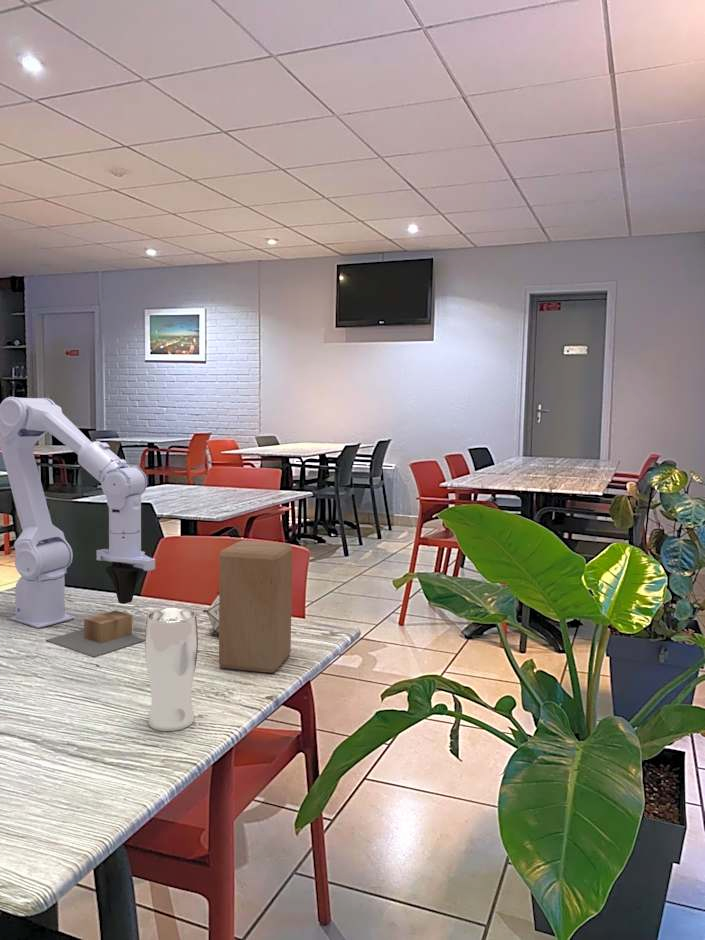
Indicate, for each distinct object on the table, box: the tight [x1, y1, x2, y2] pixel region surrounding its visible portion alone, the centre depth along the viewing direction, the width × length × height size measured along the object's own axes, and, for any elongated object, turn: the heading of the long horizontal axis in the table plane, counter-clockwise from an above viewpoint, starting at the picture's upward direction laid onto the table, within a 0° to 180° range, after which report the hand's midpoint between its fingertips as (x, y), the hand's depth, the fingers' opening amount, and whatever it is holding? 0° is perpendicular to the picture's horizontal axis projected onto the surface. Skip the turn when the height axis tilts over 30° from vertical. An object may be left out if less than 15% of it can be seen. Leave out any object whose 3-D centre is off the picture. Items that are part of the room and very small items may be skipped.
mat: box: [45, 628, 145, 658], centre depth 128 cm, size 14×11×1 cm
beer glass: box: [144, 607, 199, 732], centre depth 95 cm, size 7×7×15 cm
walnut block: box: [83, 609, 134, 643], centre depth 130 cm, size 5×4×7 cm
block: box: [218, 539, 293, 674], centre depth 118 cm, size 10×10×20 cm
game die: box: [202, 589, 219, 636], centre depth 133 cm, size 9×8×10 cm
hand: (125, 602), depth 132 cm, fingers closed
